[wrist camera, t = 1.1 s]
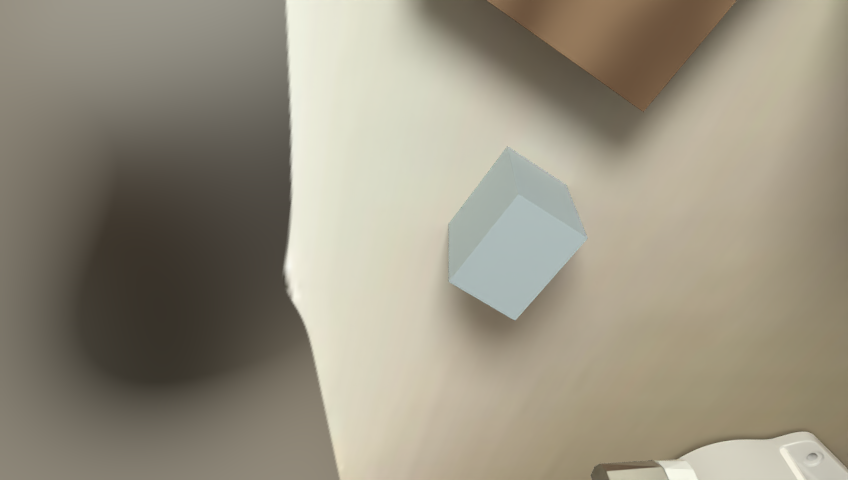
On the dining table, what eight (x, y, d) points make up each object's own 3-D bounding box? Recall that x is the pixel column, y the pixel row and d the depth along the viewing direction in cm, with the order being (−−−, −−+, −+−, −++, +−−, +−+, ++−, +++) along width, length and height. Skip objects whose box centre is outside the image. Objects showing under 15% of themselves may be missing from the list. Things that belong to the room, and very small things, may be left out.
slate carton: (566, 184, 46) (587, 238, 39) (505, 258, 49) (515, 320, 42) (507, 146, 45) (518, 194, 38) (448, 223, 48) (448, 281, 40)
